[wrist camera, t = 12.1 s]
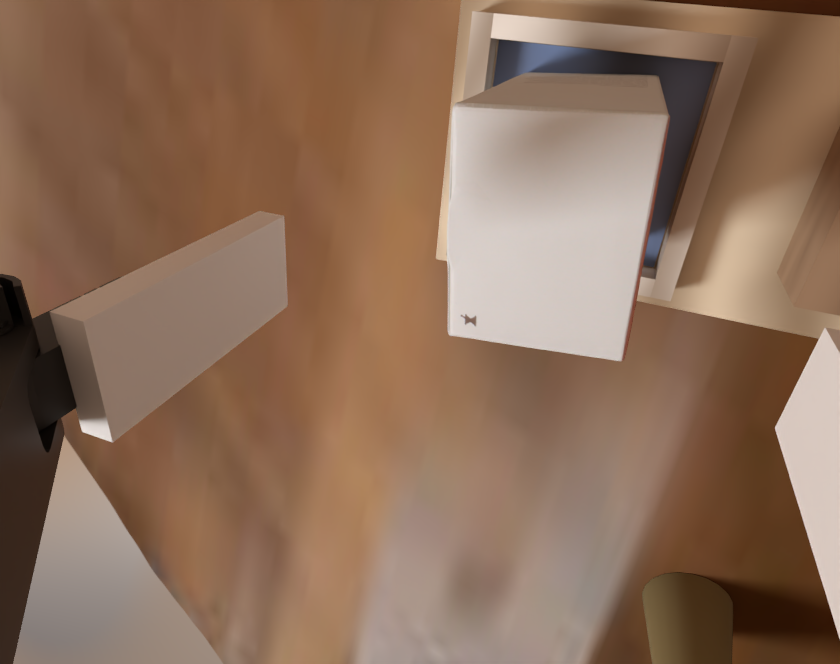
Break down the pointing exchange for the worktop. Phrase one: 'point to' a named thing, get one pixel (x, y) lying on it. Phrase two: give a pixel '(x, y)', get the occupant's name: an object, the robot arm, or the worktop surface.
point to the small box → (553, 209)
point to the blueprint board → (702, 141)
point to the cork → (688, 620)
